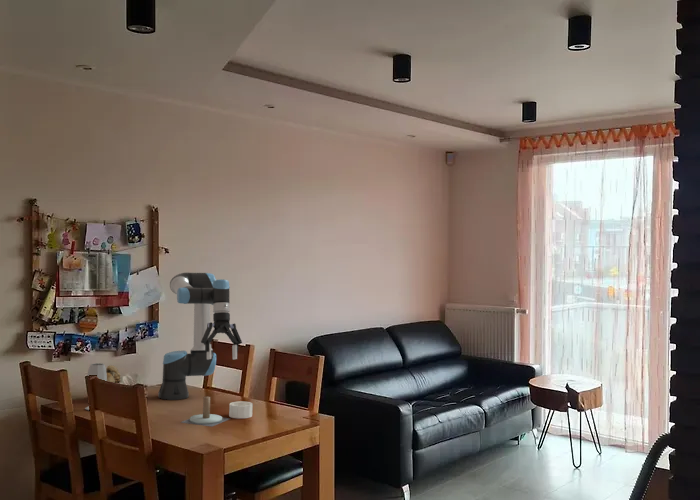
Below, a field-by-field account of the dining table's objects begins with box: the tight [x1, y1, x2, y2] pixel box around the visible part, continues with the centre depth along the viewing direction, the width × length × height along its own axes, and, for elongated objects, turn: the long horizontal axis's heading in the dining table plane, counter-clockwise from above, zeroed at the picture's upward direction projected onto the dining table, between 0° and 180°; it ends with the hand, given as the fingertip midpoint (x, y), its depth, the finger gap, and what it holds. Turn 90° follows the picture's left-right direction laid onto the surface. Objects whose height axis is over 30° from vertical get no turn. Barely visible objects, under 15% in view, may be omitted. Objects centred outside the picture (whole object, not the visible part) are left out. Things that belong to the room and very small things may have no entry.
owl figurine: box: [106, 364, 121, 384], centre depth 329 cm, size 18×12×17 cm, turn 21°
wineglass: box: [84, 362, 107, 411], centre depth 307 cm, size 9×9×21 cm
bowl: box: [228, 401, 253, 419], centre depth 303 cm, size 10×10×6 cm
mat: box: [180, 417, 231, 427], centre depth 291 cm, size 16×16×1 cm
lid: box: [189, 396, 223, 425], centre depth 292 cm, size 14×14×10 cm
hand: (222, 359), depth 299 cm, fingers open, 13 cm apart
